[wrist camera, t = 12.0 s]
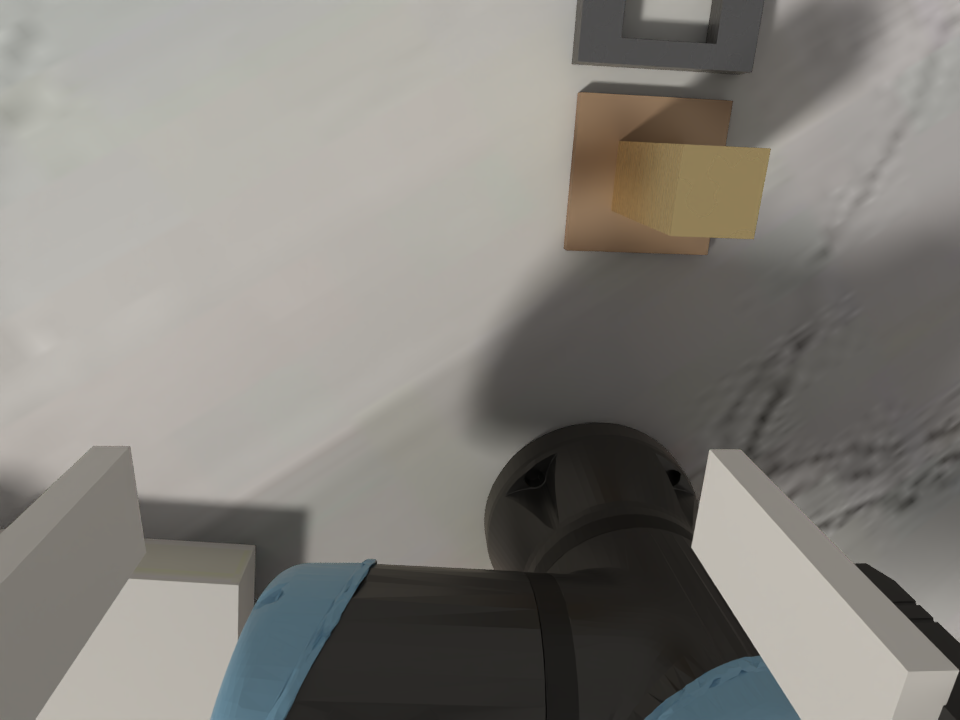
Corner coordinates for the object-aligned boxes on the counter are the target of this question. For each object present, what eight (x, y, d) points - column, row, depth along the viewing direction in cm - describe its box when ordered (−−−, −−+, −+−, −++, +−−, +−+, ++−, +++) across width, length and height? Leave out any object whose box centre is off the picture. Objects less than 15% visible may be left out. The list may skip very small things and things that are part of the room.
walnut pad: (702, 252, 41) (707, 254, 40) (563, 247, 40) (566, 250, 39) (726, 101, 38) (732, 100, 37) (577, 92, 37) (581, 92, 36)
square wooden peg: (674, 213, 39) (753, 239, 30) (611, 210, 39) (670, 236, 29) (684, 144, 38) (770, 148, 28) (618, 141, 37) (683, 144, 28)
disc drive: (28, 763, 51) (-13, 827, 47) (-3, 523, 44) (-55, 570, 39) (254, 769, 53) (237, 830, 49) (260, 541, 46) (241, 587, 41)
